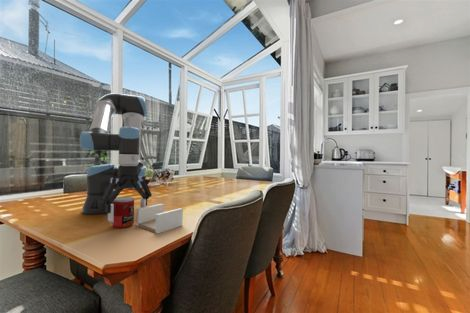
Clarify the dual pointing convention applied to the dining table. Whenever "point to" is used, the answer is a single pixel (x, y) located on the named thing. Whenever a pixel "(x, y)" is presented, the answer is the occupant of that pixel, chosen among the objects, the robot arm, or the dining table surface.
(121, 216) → the canned food
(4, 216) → the dining table surface
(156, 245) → the dining table surface
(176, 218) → the holder
